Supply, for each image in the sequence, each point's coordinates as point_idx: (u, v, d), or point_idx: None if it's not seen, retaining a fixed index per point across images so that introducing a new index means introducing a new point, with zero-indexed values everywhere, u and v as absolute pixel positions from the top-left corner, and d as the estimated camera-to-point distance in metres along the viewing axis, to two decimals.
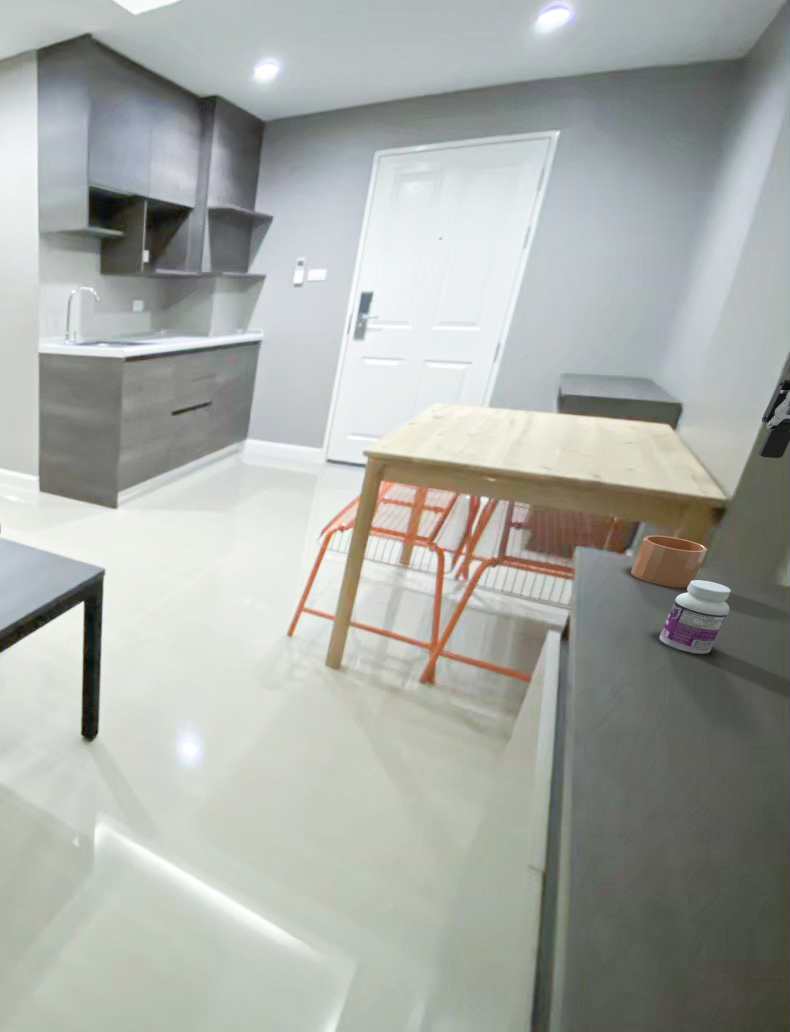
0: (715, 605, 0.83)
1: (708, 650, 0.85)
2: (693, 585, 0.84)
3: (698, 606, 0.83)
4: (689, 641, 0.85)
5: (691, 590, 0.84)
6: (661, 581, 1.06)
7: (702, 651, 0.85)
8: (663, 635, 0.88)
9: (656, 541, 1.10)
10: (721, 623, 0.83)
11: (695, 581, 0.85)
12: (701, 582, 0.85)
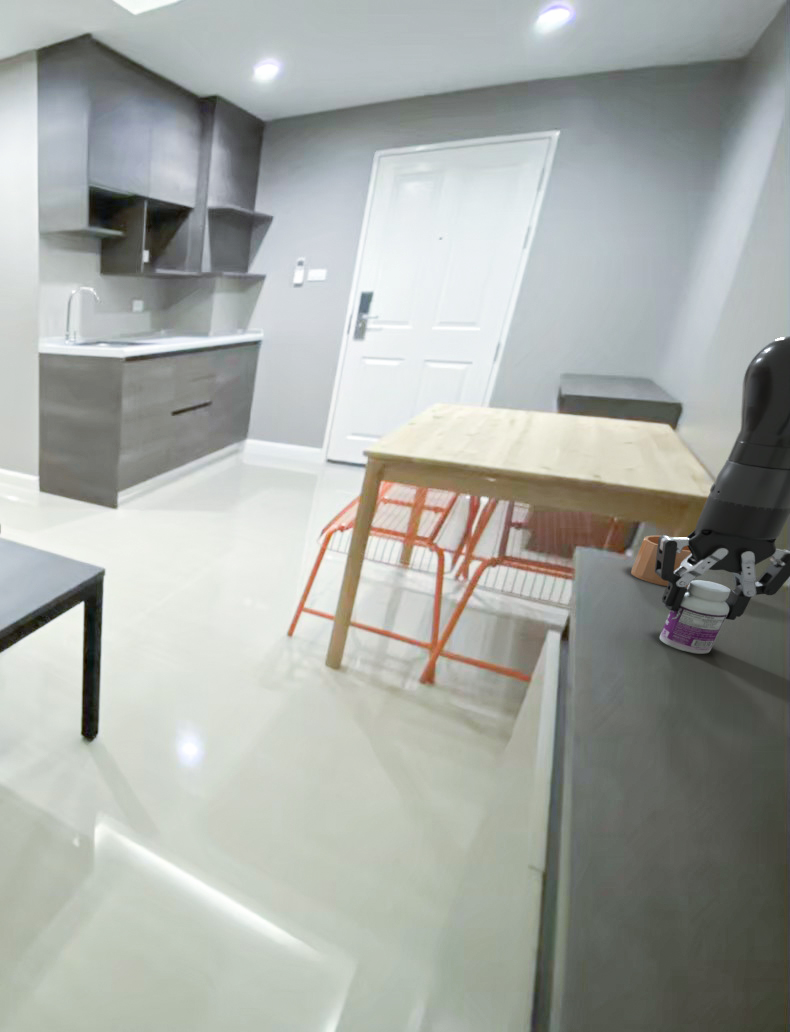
0: (714, 605, 0.83)
1: (708, 650, 0.85)
2: (693, 585, 0.84)
3: (698, 606, 0.83)
4: (688, 641, 0.85)
5: (690, 590, 0.84)
6: (661, 581, 1.06)
7: (702, 651, 0.85)
8: (663, 635, 0.88)
9: (656, 541, 1.10)
10: (721, 623, 0.83)
11: (695, 581, 0.85)
12: (701, 582, 0.85)
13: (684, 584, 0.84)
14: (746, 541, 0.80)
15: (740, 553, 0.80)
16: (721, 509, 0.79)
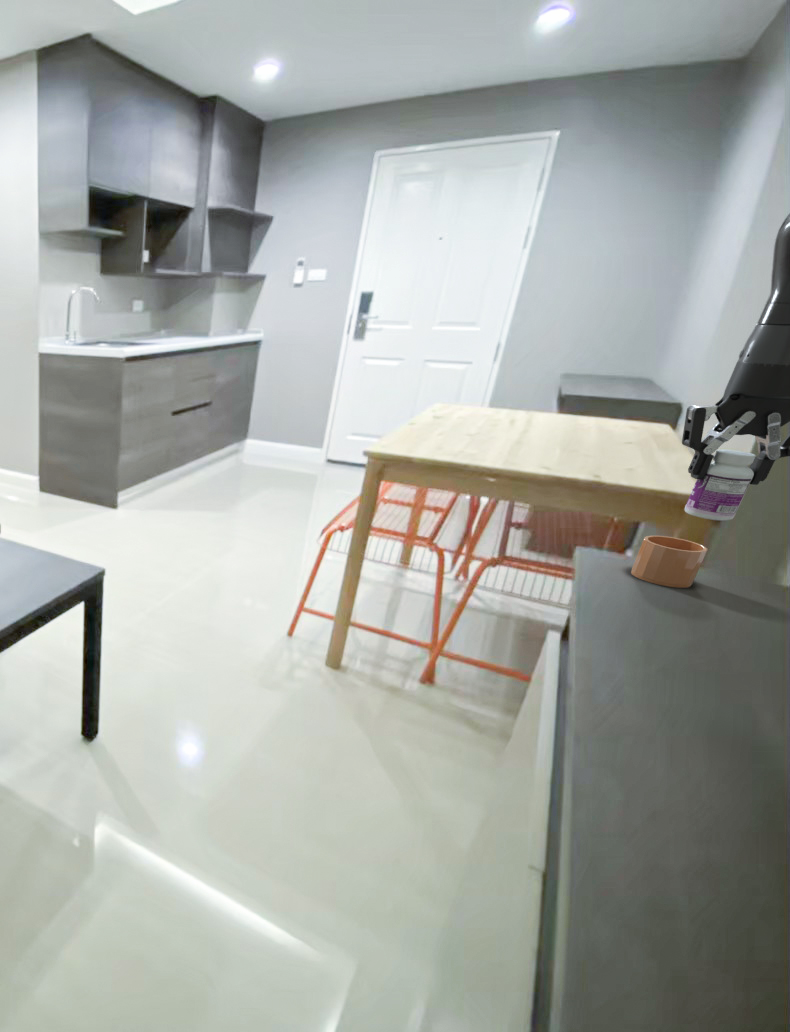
0: (740, 470, 0.86)
1: (732, 516, 0.88)
2: (719, 452, 0.87)
3: (725, 471, 0.87)
4: (714, 507, 0.88)
5: (717, 457, 0.88)
6: (661, 581, 1.06)
7: (727, 517, 0.88)
8: (688, 505, 0.91)
9: (656, 541, 1.10)
10: (746, 487, 0.87)
11: (720, 450, 0.88)
12: (726, 450, 0.88)
13: (711, 451, 0.87)
14: (773, 403, 0.83)
15: (766, 415, 0.83)
16: (750, 371, 0.82)
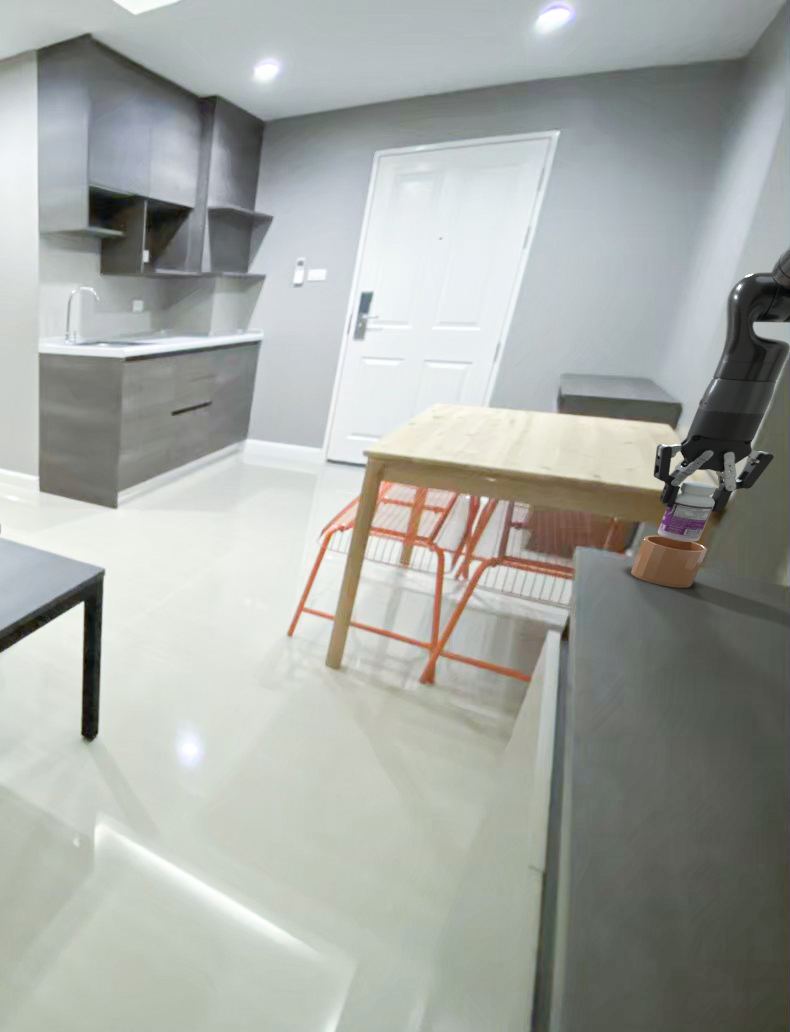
0: (702, 499, 1.01)
1: (697, 538, 1.03)
2: (685, 484, 1.03)
3: (689, 500, 1.02)
4: (681, 531, 1.03)
5: (683, 488, 1.03)
6: (661, 581, 1.06)
7: (692, 539, 1.03)
8: (661, 529, 1.06)
9: (656, 541, 1.10)
10: (708, 514, 1.02)
11: (686, 481, 1.04)
12: (691, 482, 1.03)
13: (678, 483, 1.02)
14: (728, 443, 0.98)
15: (723, 454, 0.99)
16: (707, 417, 0.98)
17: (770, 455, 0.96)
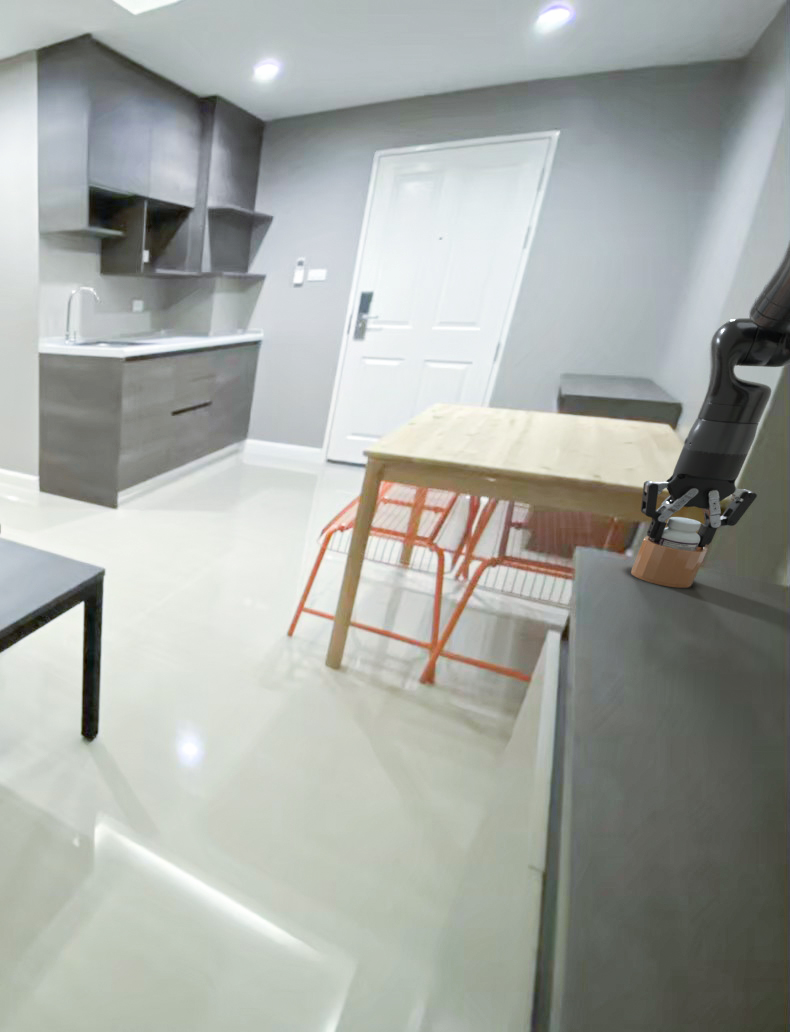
0: (688, 535, 1.03)
1: None
2: (671, 520, 1.05)
3: (675, 536, 1.04)
4: None
5: (669, 524, 1.05)
6: (661, 581, 1.06)
7: None
8: None
9: None
10: (693, 550, 1.04)
11: (673, 517, 1.06)
12: (678, 518, 1.05)
13: (664, 519, 1.05)
14: (712, 482, 1.01)
15: (707, 492, 1.01)
16: (692, 457, 1.00)
17: (753, 494, 0.99)
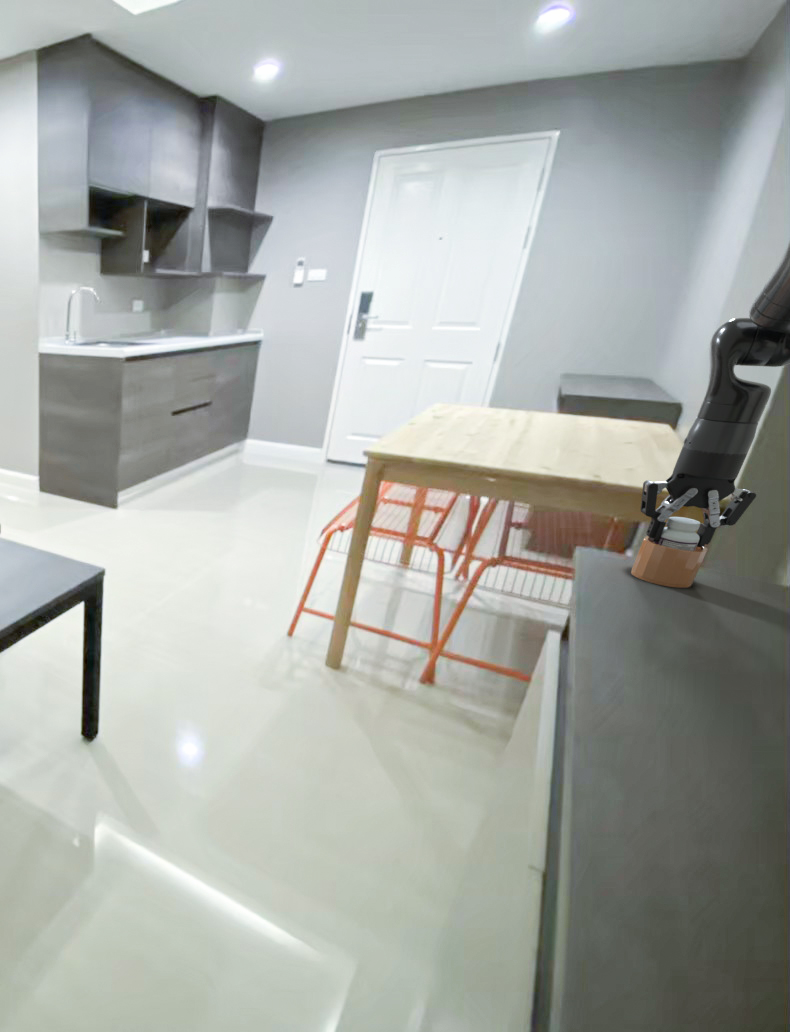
0: (687, 535, 1.03)
1: None
2: (671, 519, 1.05)
3: (675, 536, 1.04)
4: None
5: (669, 523, 1.05)
6: (661, 581, 1.06)
7: None
8: None
9: None
10: (693, 549, 1.04)
11: (672, 517, 1.06)
12: (677, 518, 1.05)
13: (664, 519, 1.05)
14: (712, 482, 1.01)
15: (707, 492, 1.01)
16: (692, 456, 1.00)
17: (753, 494, 0.99)
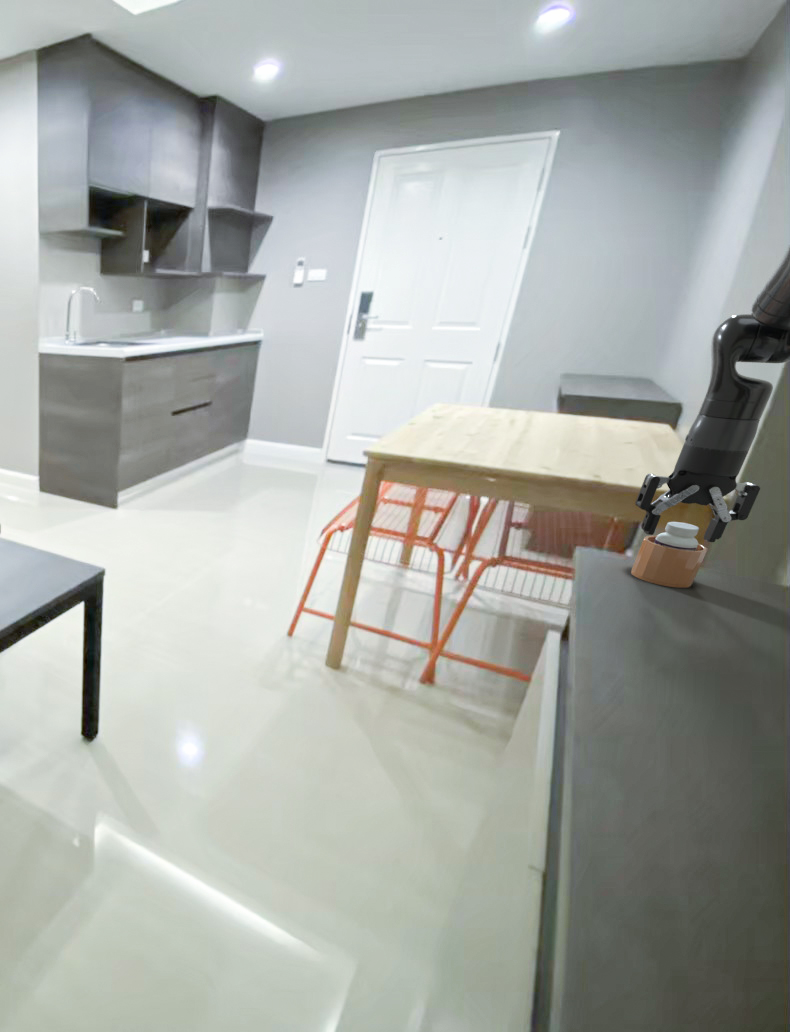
0: (686, 540, 1.04)
1: None
2: (669, 525, 1.05)
3: (673, 541, 1.04)
4: None
5: (667, 529, 1.06)
6: (661, 581, 1.06)
7: None
8: None
9: None
10: None
11: (671, 522, 1.06)
12: (676, 523, 1.06)
13: (658, 512, 1.05)
14: (713, 478, 1.00)
15: (708, 489, 1.01)
16: (693, 453, 1.00)
17: (756, 486, 0.98)
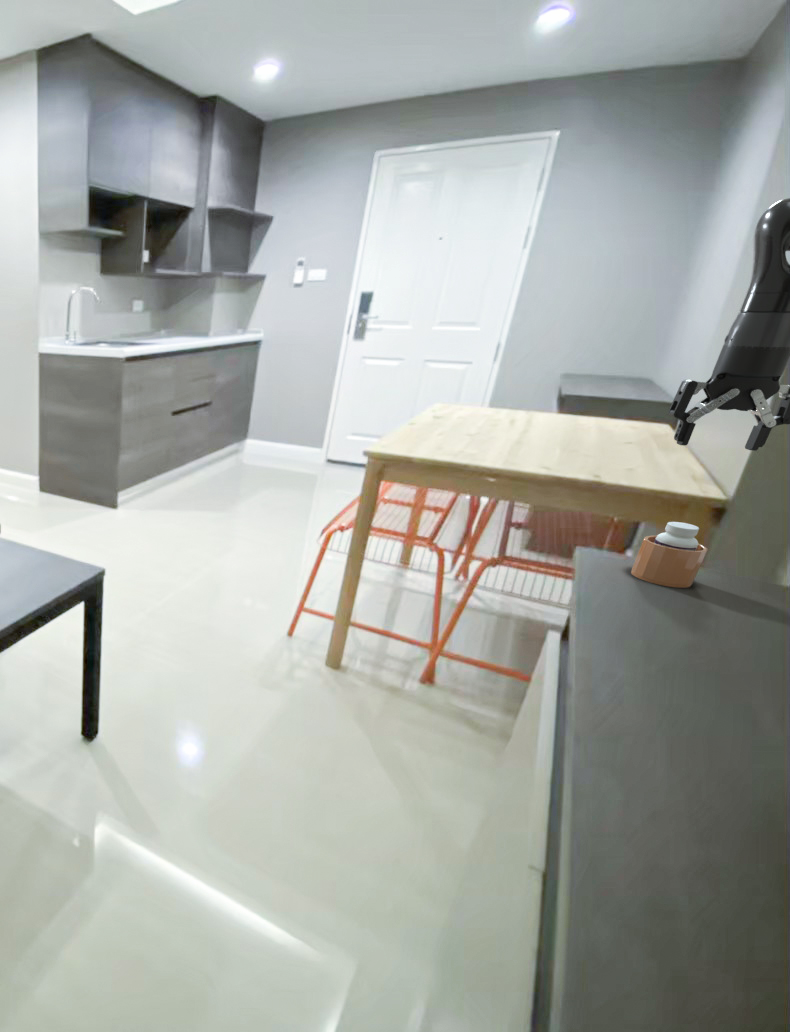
0: (686, 540, 1.04)
1: None
2: (669, 525, 1.05)
3: (673, 541, 1.04)
4: None
5: (667, 529, 1.06)
6: (661, 581, 1.06)
7: None
8: None
9: None
10: None
11: (671, 522, 1.06)
12: (676, 523, 1.06)
13: (693, 419, 0.99)
14: (755, 381, 0.95)
15: (749, 393, 0.95)
16: (734, 353, 0.94)
17: None
